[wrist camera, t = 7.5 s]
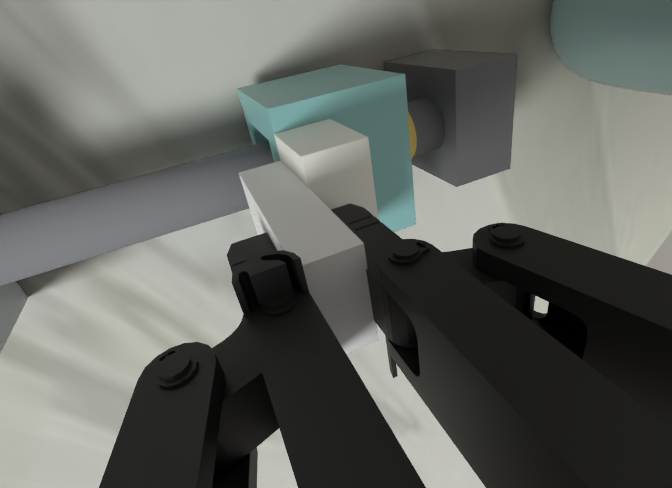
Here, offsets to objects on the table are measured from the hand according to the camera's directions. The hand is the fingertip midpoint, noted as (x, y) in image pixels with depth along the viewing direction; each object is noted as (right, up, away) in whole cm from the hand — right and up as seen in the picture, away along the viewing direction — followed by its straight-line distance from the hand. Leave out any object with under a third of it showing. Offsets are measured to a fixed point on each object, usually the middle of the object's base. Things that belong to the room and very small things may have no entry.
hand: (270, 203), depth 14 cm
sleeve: (0, +4, +7) cm, 8 cm away
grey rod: (-3, +1, +3) cm, 5 cm away
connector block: (+7, +6, +8) cm, 12 cm away
